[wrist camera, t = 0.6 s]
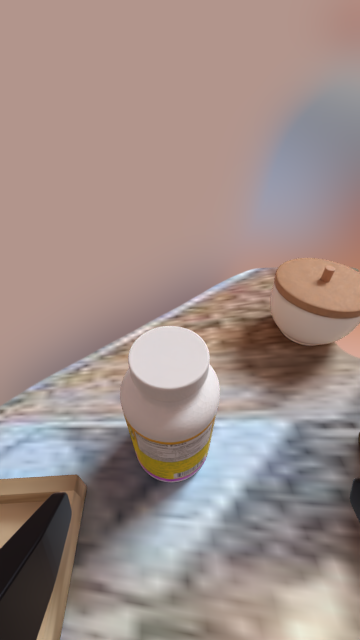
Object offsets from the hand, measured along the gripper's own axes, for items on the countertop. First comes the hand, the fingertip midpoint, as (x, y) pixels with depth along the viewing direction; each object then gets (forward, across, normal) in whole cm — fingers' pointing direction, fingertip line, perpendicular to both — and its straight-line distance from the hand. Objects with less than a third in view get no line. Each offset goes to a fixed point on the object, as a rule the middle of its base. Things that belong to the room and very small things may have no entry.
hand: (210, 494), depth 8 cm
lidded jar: (+26, -16, +5) cm, 31 cm away
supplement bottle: (+13, +2, +10) cm, 17 cm away
